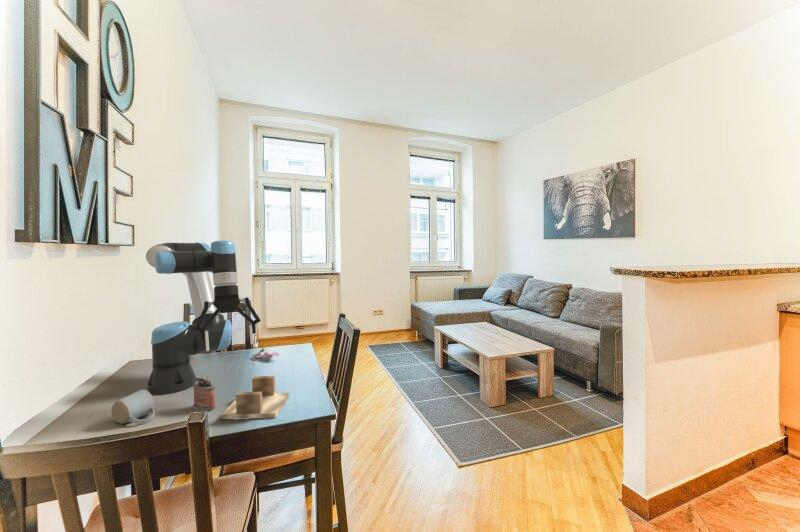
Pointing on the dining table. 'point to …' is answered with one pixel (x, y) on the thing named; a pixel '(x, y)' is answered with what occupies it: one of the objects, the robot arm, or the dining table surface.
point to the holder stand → (257, 401)
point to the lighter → (204, 394)
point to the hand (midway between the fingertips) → (230, 347)
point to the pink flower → (265, 354)
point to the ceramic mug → (133, 408)
